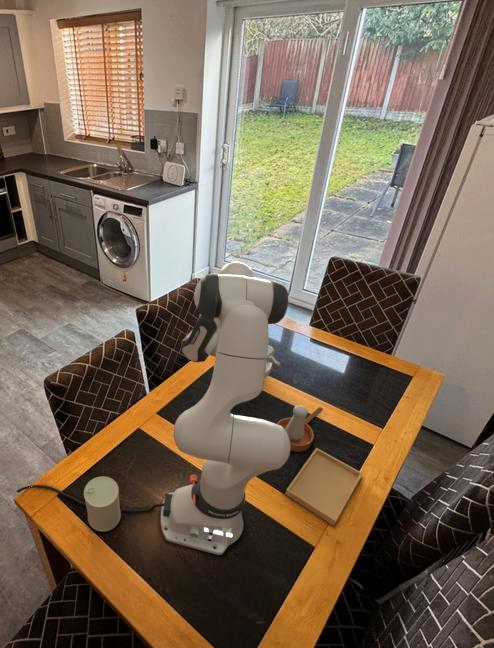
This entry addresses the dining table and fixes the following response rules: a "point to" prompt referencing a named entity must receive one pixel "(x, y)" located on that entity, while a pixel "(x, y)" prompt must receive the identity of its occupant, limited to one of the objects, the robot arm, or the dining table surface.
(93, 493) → the can
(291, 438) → the salt shaker
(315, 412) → the pan handle
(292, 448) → the pan
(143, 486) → the dining table surface
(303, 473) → the tray
